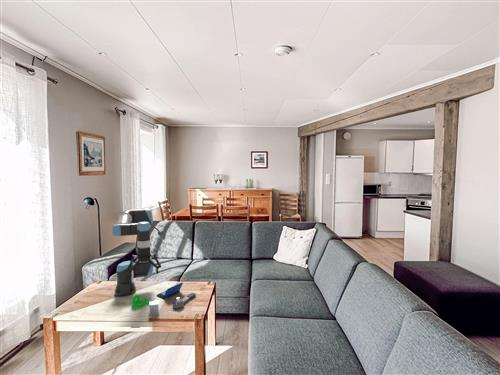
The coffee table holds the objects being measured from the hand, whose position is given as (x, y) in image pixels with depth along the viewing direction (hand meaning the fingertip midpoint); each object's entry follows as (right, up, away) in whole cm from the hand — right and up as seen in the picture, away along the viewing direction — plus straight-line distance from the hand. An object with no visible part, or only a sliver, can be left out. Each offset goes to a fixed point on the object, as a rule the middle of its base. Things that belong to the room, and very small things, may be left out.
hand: (144, 280), depth 172 cm
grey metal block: (+3, -25, +10) cm, 27 cm away
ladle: (+19, -25, +25) cm, 40 cm away
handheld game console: (+5, -24, +37) cm, 45 cm away
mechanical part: (-10, -25, +22) cm, 35 cm away
